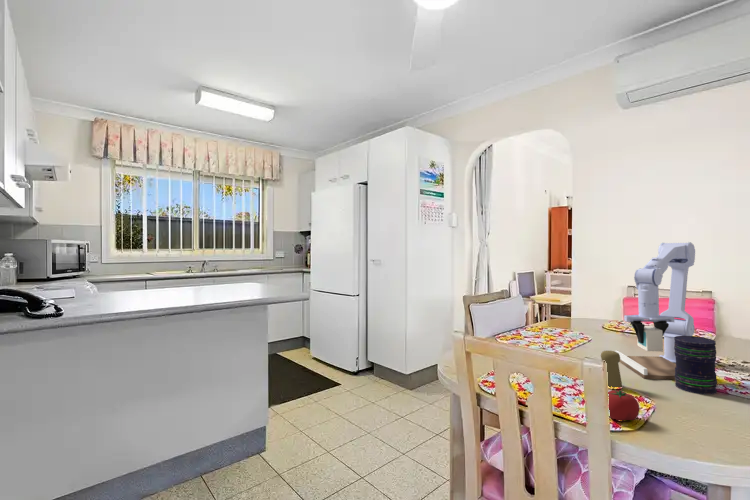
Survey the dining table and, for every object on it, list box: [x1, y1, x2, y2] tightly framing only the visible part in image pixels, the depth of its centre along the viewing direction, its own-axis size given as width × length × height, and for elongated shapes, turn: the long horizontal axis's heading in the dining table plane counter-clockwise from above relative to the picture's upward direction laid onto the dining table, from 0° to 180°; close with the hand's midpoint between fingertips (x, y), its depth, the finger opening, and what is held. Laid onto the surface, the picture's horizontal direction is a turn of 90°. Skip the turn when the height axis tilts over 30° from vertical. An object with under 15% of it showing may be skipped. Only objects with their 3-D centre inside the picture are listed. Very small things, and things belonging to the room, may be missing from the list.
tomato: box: [608, 390, 641, 422], centre depth 98 cm, size 8×8×7 cm
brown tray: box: [614, 350, 676, 381], centre depth 134 cm, size 16×22×3 cm
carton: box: [636, 325, 664, 352], centre depth 131 cm, size 5×7×7 cm
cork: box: [600, 350, 623, 387], centre depth 119 cm, size 6×6×11 cm
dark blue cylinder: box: [674, 335, 718, 396], centre depth 115 cm, size 10×10×15 cm
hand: (649, 342), depth 131 cm, fingers closed on carton, 5 cm apart
